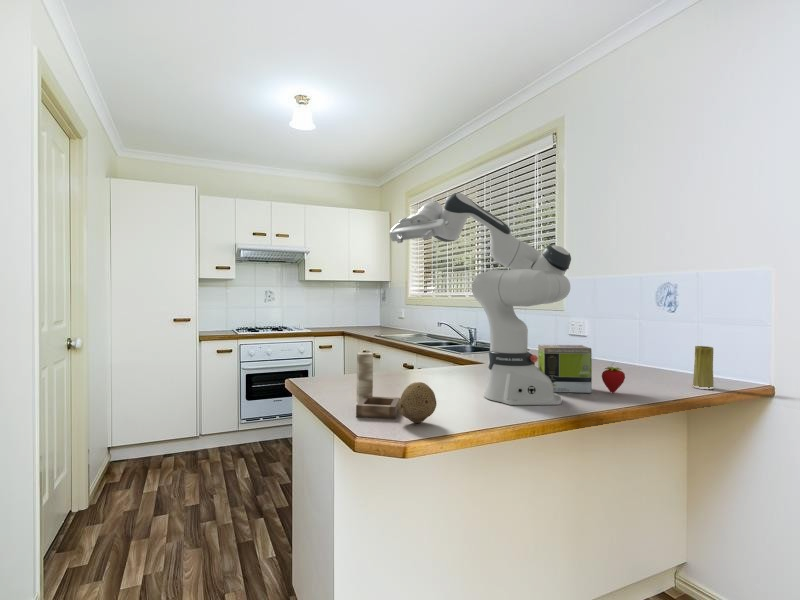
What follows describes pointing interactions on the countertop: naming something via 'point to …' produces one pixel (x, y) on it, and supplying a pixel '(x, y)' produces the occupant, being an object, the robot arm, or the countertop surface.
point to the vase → (703, 367)
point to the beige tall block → (364, 375)
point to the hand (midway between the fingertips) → (411, 239)
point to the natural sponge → (417, 402)
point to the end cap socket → (377, 407)
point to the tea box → (567, 367)
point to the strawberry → (613, 378)
